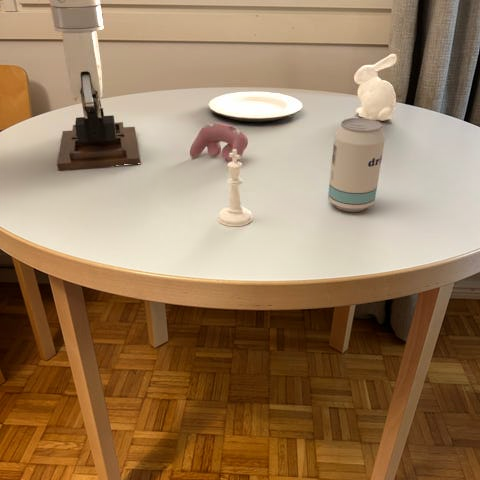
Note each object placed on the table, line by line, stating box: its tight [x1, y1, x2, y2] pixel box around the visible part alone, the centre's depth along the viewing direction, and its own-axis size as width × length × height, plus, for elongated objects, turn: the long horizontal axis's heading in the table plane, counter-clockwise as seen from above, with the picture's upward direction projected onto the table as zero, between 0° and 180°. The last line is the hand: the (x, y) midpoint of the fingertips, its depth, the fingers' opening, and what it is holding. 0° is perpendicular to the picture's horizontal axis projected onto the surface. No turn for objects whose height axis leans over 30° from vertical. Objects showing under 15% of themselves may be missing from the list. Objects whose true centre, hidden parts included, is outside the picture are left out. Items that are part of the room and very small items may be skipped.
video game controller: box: [189, 122, 249, 164], centre depth 94 cm, size 10×5×7 cm, turn 56°
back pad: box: [74, 114, 116, 143], centre depth 92 cm, size 6×4×3 cm
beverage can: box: [327, 117, 386, 213], centre depth 76 cm, size 7×7×12 cm
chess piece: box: [217, 149, 253, 227], centre depth 73 cm, size 5×5×10 cm
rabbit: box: [353, 53, 398, 122], centre depth 113 cm, size 12×9×12 cm
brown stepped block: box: [56, 120, 142, 171], centre depth 97 cm, size 14×18×4 cm
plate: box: [208, 91, 303, 123], centre depth 118 cm, size 21×21×2 cm
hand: (96, 135), depth 93 cm, fingers closed on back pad, 4 cm apart
